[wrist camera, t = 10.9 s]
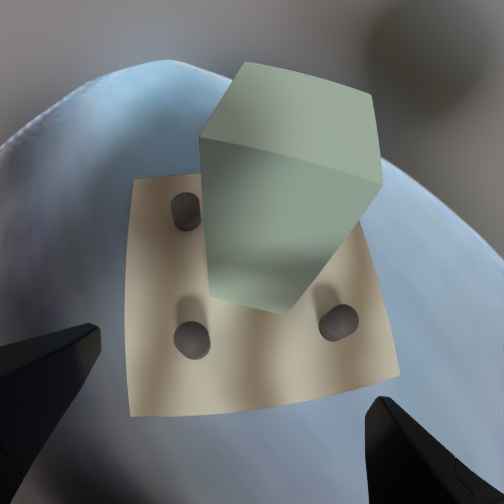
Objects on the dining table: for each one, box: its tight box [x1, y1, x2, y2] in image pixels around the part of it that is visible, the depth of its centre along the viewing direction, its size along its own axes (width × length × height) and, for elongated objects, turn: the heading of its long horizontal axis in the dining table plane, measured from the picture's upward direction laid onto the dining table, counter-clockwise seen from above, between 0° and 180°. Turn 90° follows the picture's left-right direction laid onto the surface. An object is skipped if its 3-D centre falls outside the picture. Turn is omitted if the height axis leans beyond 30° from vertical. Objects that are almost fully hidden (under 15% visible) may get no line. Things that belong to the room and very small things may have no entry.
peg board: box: [125, 173, 400, 417], centre depth 19 cm, size 18×18×3 cm
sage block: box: [199, 62, 383, 316], centre depth 14 cm, size 5×5×13 cm
